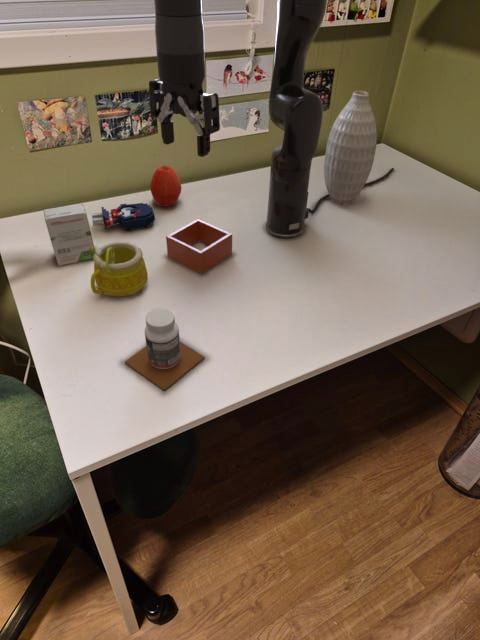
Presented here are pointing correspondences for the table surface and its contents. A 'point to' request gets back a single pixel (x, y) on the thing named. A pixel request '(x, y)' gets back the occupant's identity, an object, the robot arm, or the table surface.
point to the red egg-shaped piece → (165, 186)
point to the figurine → (126, 216)
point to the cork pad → (165, 376)
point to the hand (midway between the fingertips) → (185, 149)
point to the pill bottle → (162, 338)
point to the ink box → (69, 233)
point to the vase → (350, 149)
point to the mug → (118, 269)
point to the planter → (193, 257)
